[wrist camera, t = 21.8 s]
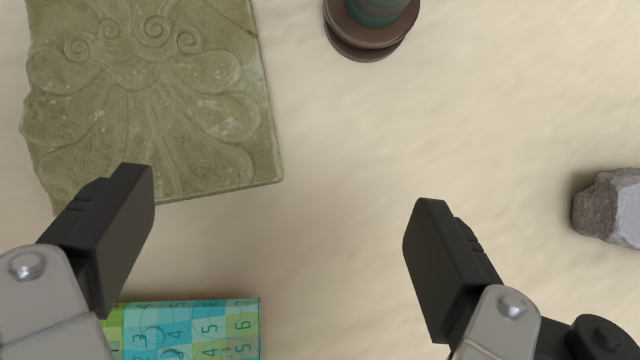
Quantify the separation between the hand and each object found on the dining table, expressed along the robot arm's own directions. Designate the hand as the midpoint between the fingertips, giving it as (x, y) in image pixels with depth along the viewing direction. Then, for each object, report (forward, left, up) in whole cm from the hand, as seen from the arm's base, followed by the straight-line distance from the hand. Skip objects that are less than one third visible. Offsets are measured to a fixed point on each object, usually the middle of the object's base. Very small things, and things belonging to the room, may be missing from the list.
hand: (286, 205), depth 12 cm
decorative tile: (-14, -2, -22) cm, 26 cm away
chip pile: (-6, +15, -22) cm, 27 cm away
